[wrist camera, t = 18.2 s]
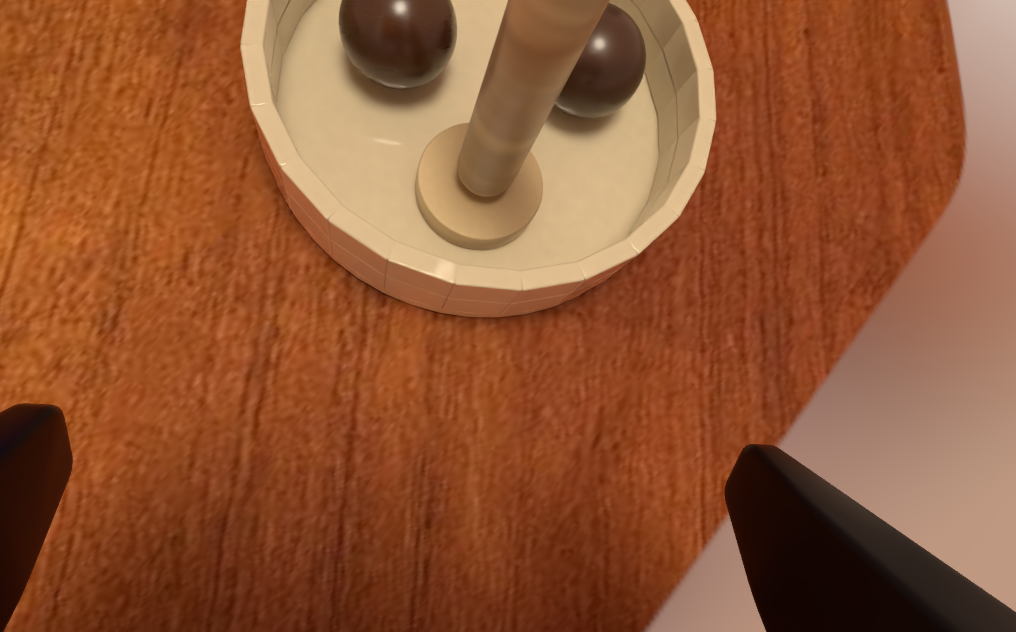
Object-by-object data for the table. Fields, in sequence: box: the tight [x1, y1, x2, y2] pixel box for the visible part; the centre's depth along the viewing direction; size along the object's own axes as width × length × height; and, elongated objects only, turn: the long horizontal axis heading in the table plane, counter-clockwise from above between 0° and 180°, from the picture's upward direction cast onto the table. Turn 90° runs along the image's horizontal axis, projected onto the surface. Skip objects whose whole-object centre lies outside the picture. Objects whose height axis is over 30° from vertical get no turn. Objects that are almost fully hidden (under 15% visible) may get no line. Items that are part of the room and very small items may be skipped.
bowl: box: [240, 0, 716, 317], centre depth 20 cm, size 14×14×4 cm
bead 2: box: [554, 3, 646, 119], centre depth 21 cm, size 4×4×4 cm
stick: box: [415, 0, 610, 250], centre depth 13 cm, size 4×4×16 cm
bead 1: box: [338, 0, 457, 90], centre depth 20 cm, size 4×4×4 cm
